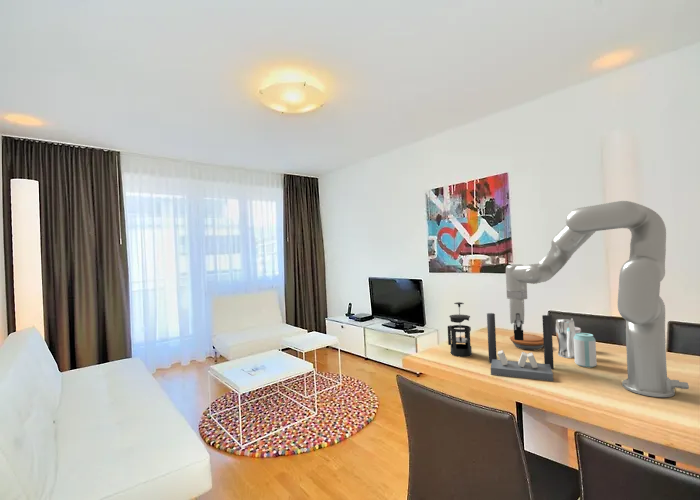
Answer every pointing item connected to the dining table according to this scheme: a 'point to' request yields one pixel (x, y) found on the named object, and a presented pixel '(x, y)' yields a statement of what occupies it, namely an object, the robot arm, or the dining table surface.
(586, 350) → the can
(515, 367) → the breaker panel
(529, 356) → the paddle
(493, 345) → the rod
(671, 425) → the dining table surface
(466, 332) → the french press
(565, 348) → the beer glass
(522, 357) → the middle paddle
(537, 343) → the pie
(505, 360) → the paddle
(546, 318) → the rod
